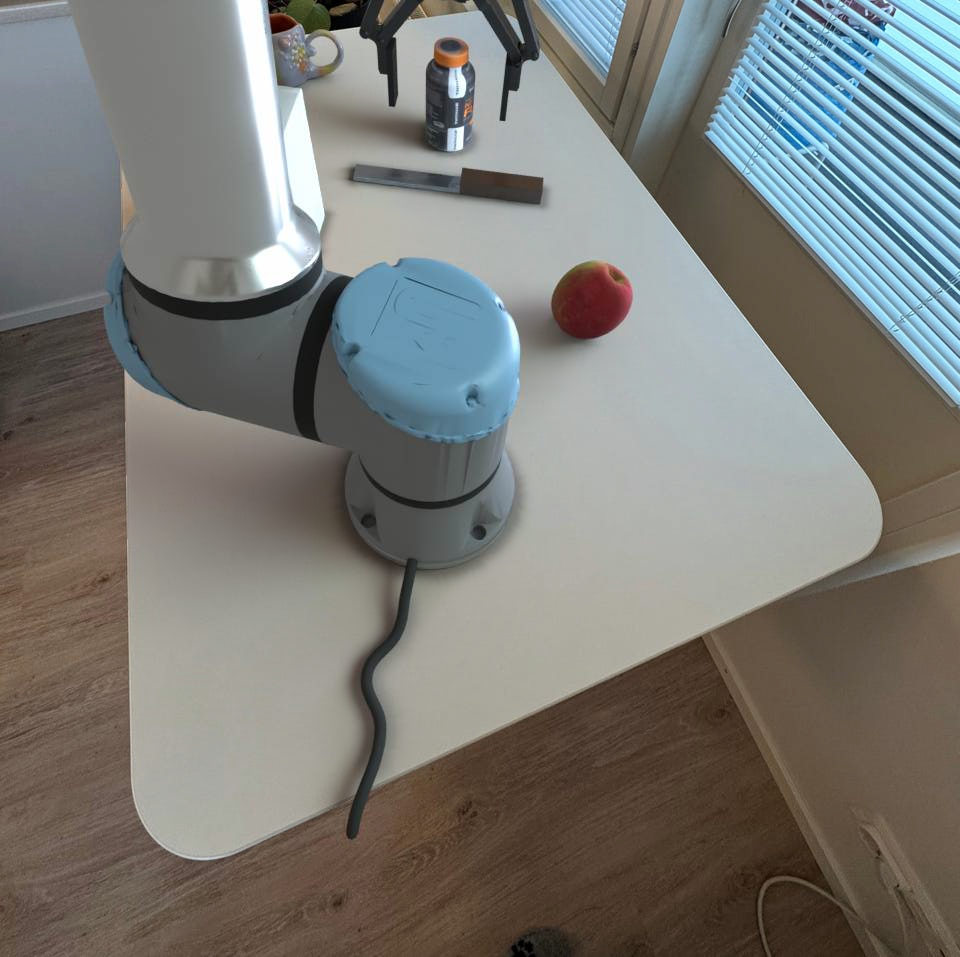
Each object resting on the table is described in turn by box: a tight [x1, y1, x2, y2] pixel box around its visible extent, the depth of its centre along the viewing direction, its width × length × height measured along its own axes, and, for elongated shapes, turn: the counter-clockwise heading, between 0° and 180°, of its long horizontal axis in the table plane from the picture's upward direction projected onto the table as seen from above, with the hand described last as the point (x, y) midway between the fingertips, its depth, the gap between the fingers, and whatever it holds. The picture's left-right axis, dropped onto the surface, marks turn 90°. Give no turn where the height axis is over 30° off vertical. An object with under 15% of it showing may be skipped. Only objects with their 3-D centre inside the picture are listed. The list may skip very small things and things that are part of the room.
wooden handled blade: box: [352, 163, 544, 205], centre depth 77 cm, size 23×3×2 cm, turn 85°
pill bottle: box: [425, 36, 476, 152], centre depth 77 cm, size 6×6×11 cm
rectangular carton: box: [278, 85, 326, 235], centre depth 65 cm, size 9×9×15 cm
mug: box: [269, 12, 345, 88], centre depth 83 cm, size 12×7×7 cm, turn 92°
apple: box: [550, 260, 634, 340], centre depth 65 cm, size 8×8×8 cm
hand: (448, 107), depth 78 cm, fingers open, 13 cm apart
